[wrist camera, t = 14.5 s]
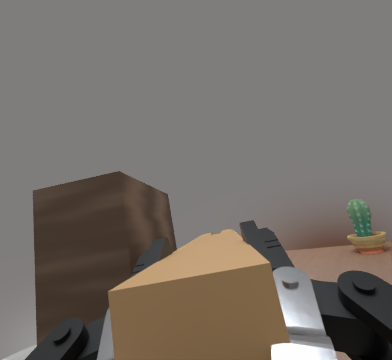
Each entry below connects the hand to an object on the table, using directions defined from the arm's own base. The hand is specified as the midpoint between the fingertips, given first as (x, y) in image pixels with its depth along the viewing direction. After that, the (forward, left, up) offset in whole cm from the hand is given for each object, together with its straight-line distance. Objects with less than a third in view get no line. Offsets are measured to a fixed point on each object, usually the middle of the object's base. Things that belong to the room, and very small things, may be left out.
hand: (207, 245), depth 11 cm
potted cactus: (-4, +121, -26) cm, 123 cm away
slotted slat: (-3, +5, -3) cm, 6 cm away
